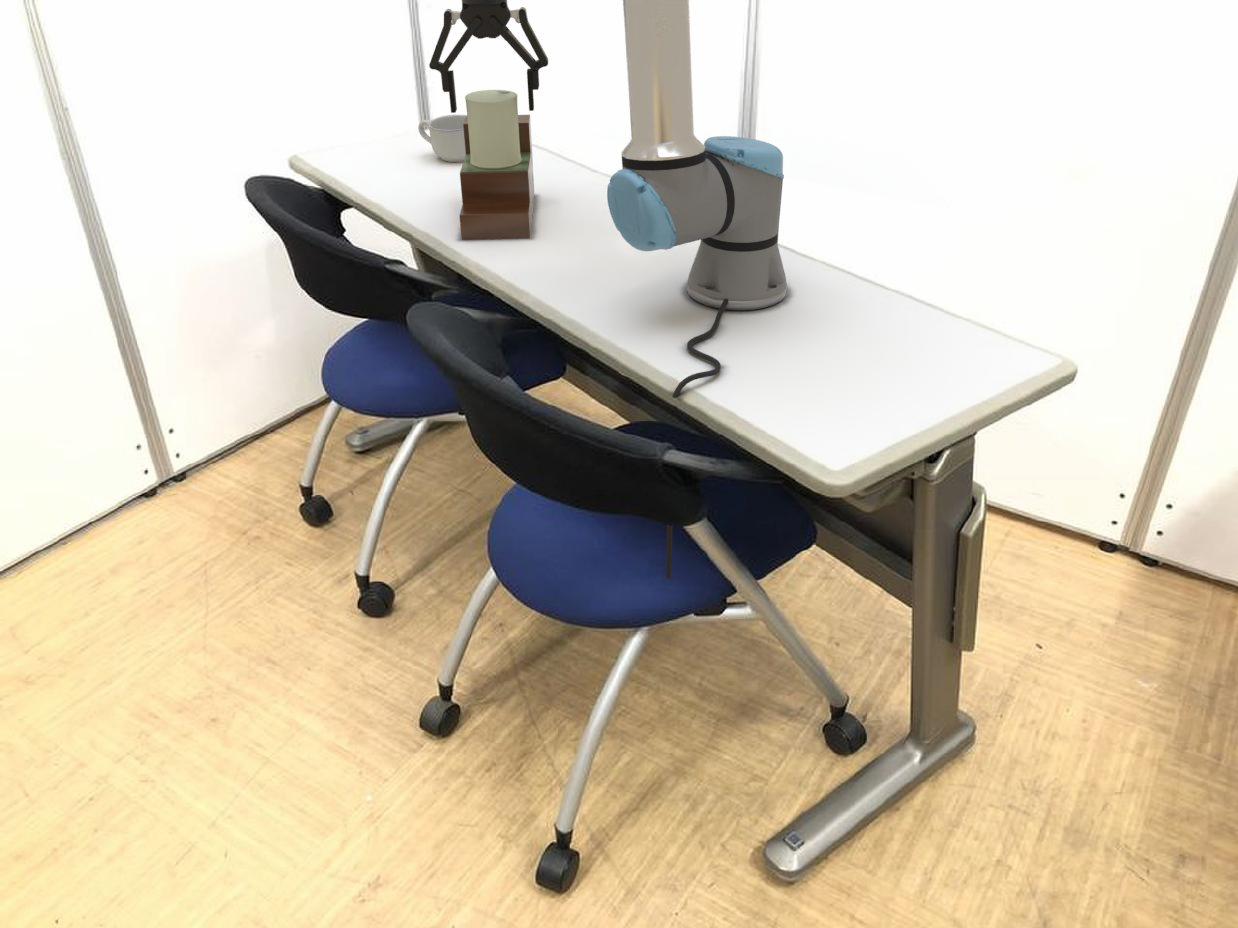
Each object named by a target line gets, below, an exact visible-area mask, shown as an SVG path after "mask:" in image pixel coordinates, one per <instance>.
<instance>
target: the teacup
mask: <svg viewBox="0 0 1238 928" xmlns="http://www.w3.org/2000/svg"><path fill="white" fill-rule="evenodd" d="M466 116H467V114H447V115H442V116H438V117H435V118H433V119H423V120H421V121H420V122H419V124H418V133H419V135H420V137H422V138H423V139H424V140H425V142H427V143H429V145H431V148H432V151H433V153H434V154H435V155H436V156H437V157H438V158H440V159H441V160H442V161H444V162H449V163H461V162H462V163H463V162H464V159H465V155H466V151H465V140H464V128H463V123H464V120H465V118H466ZM425 126H428V128H429V134H427V132H426V131H425Z"/></svg>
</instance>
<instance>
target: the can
mask: <svg viewBox="0 0 1238 928" xmlns="http://www.w3.org/2000/svg"><path fill="white" fill-rule="evenodd" d="M464 99H465V107H466V115H467V118H468V129H469V141H470V155H471V160H470V163H471V164H472V165H473V166H475V167H479V168H485V169H500V168H508V167H512V166H515V165H518V164H519V163H520V162H521V160H522V159H521V155H520V142H519V126H518V115H519V109H518V94H517V93H516V92H515V91H513V90H512V91H511V90H505V89H484V90H483V89H482V90H476V91H473V92H470V93H467V94H466V95H465V96H464Z"/></svg>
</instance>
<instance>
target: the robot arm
mask: <svg viewBox="0 0 1238 928" xmlns="http://www.w3.org/2000/svg"><path fill="white" fill-rule="evenodd" d="M622 9H623V10H622V11H623V25H624V41H625V43H624V44H625V57H626V73H627V88H628V89H627V90H628V102H629V104H628V105H629V106H628V107H629V118H630V135H631V137H630V140H629V142H628V143H627V145H626V146H625V147H624V148H623V150H621V167H622V168H621V169H619V170H617V171H616V172H614V173H613V174H612V175H611V177H610V179H609V182H608V185H607V188H606V196H607V198H606V199H607V205H608V211H609V213H610V217H611V219H612V222H613V224H614V226H615V228H616V229H617V231H618V233H620V235H621V237H622V238H623V240H624V241H625V242H626V243H627V244H628V245H630V246H631V247H633V248H634V249H635V250H638V251H641V252H645V253H646V252H647V253H648V252H654V251H659V250H664V251H665V250H666V251H667V250H669V249H670V250H671V249H673V248H674V247H677V246H681V245H685V244H689V243H694V242H696V241H700V243H699V247H698V249H697V251H696V255H695V257H694V259H693V263H692V266H691V268H690V270H689V274H688V278H687V289H686V290H687V293H688V295H689V296H690V298H691V299H693V300H694V301H696V302H698V303H699V304H702V305H705V306H707V307H709V308H710V307H711V308H714V309H718V311H717V313H716V316H715V319H714V321H713V324H712V325H711V328H710V329H708V330H707V331H706V332H704V333H702V334H699V335H697V336H694V337H692V338H691V339H689V340H688V342H687V343H686V349H687V350H688V352H689V353H690V354H692V355H694V356H695V357H698V358H700V359H703V360H705V361H707V362H709V363H711V364H713V365H714V368H713V369H710V370H706V371H701V372H697V373H693V374H690V375H688V376H687V377H685V378H683V379H682V380H681V381H680V382H679V383H678V384H677V386H676V387H675V389H674V391H673V394H672V398H673V399H677V398H679V396H680V393H681V392H682V390H683V389H684V387H685V386H687V385H688V384H689V383H691V382H693V381H696V380H698V379H703V378H709V377H713V376H715V375H718V373H720V371H721V369H722V365H721V363H720V361H719V360H718V359H716V358H715V357H713V356H711V355H709V354H707V353H705V352H702V351H699V350H698V349H696V348H695V347H694V346H693V345H694V344H696V343H697V342H698V343H699V342H700V341H704V340H705V339H707V338H709V337H711V336H712V335H714V334H715V332H716V331H717V330H718V328H719V325H720V322H721V319H722V316H723V314H724V312H725V310H728V311H752V310H759V309H764V308H768V307H771V306H774V305H777V304H778V303H780V302H781V301H782V300H784V299H785V298H786V295H787V287H788V286H787V285H788V283H787V276H786V272H785V268H784V264H783V260H782V256H781V253H780V249H779V244H778V243H779V231H780V216H781V208H782V207H781V205H782V196H783V195H782V193H783V183H784V179H785V175H784V156H783V153H782V151H781V149H780V148H779V147H777V146H776V145H774V144H772V143H769V142H767V141H765V140H764V141H763V140H760V139H754V138H749V137H742V136H733V135H732V136H730V135H719V136H711V137H708V138H707V139H706V140H705V141H704V143H702V142H701V141H700V140H699V139H698V138H697V137H696V135H695V127H694V125H695V124H694V103H693V100H694V99H693V74H692V73H693V72H692V71H693V70H692V45H691V23H690V22H691V20H690V19H691V17H690V0H622ZM511 18H512V19H514V21H515V22H516V24H519V25H520V27H521V29H522V32H523V34H525V37H526V39H527V40H528V42H529V44H530V46H531V48H532V49H533V52H534V54H535V56H536V57H537V59H535V58H534V56H533V55H532V54H531V53H530V52H529V51H528V50H527V49H526V48H525V46H524V45H523V44H522V43H521V42H520V40H519V39H518V38H517V37H516V36H515V34H513V32H512V31H511V30H510V28H509V27H508V26H507V25H508V23H509V22H510V20H511ZM458 20H460V21H461V22H462V24H463V25H464V27H466V29H465V31H464V32H463V33H462V35H461V37H460V38H459V40H458V41H457V43H456V44H455V45H454V47H453V48H452V50H451V51H450V53H449V54H448V55H447V56H446V58H445V59H444V61H443V62H442V61H440V59H441V57H442V54H443V51H444V48H445V46H446V44H447V40H448V38H449V35H450V34H451V33H450V32H451V30H452V27H453V26H455V25H456V24H457V22H458ZM500 36H501V37H502V38H503V40H504V41H505V42H507V44H508V45H509V46H510V47H511V48H512V49H513V50H514V52H515V53H516V54H517V55H518V56H519V57H520V58H521V60H522V61H523V62H524V63H525V64H526V65H527V66H528V68H527V69H526V79H527V82H526V83H527V96H528V97H527V98H528V111H529V112H532V111H533V112H534V110H535V100H534V99H535V98H534V91H537V90H539V88H540V73H539V70H540V69H542V68H544V67H547V66H548V65H549V57H548V56H547V54H546V52H545V50H544V49H543V47H542V44H541V43H540V40H539V39H538V37H537V35H536V33H535V31H534V29H533V27H532V25H531V23H530V21H529V18H528V13H527V9H526V7H524V6H522V7H520V8H518V9H517V8H516V9H511V10H510V8H509V6H508V0H461V11H458V10H452V9H451V8H446V9H445V11H444V12H443V26H442V28H441V32H440V35H439V37H438V39H437V42H436V45H435V47H434V50H433V53H432V56H431V59H430V62H429V64H428V66H429V69H431V70H434V71H438V72H439V73H440V79H441V88H442V91H443V93H448V95H449V106H450V113H451V114H456V113H457V110H458V106H457V95H456V94H457V93H456V86H455V74H454V70H453V69H451V70H449V69H450V68H451V67H452V65H453V64H454V62H455V60H456V59H457V58H458V57H459V55H460V54H461V52H462V51H463V49H464V48H465V46H466V45H467V43H468V42H469V41H470V39H471V38H472V37H475V38H477V40H478V39H479V40H481V39H486V38H488V39H497V38H499V37H500ZM672 561H673V525H672V526H670V525H667V524H666V564H665V565H666V567H665V568H666V569H665V570H666V572H665V578H666V579H667V580H670V579H672V566H673V565H672V564H673V562H672Z"/></svg>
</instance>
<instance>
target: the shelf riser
mask: <svg viewBox="0 0 1238 928" xmlns="http://www.w3.org/2000/svg"><path fill="white" fill-rule="evenodd" d="M531 123H532V122H531V114H518V126H519V142H520V155H521V159H522V160H521V162H520V163H519V164H518V165H515V166H512V167H508V168H500V169H485V168H479V167H475V166H473V165H472V164H471V163H470V160H471V155H470V141H469V129H468V118H467V116H466V118H465V120H464V123H463V128H464V140H465V151H466V155H465V159H464V161H462V165H461V168H460V172H459V181H460V191H461V201H462V205H461V209H460V212H459V224H460V235H461V241H475V240H477V241H478V240H517V239H518V240H521V239H524V240H525V239H531V235H532V234H531V233H532V224H533V214H534V203H535V179H534V161H533V142H532V140H533V139H532V124H531Z"/></svg>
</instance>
